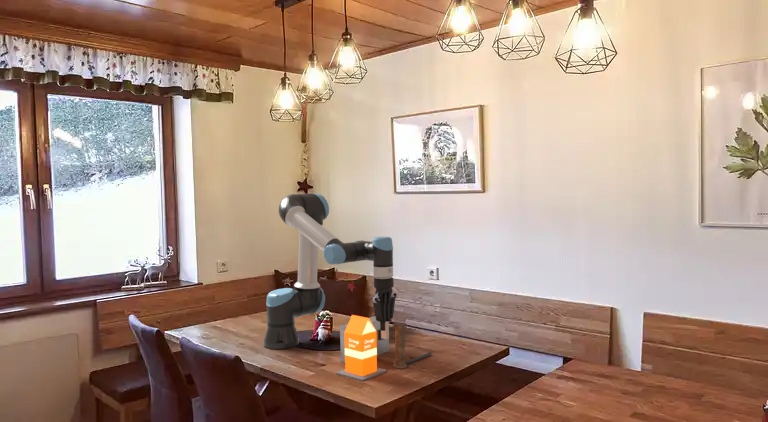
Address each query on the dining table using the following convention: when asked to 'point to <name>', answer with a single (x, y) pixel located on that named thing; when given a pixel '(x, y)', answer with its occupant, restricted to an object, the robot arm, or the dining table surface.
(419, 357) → the dark gray rod
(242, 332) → the dining table surface
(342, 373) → the felt mat
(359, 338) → the orange juice
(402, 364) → the cable post
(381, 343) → the box
